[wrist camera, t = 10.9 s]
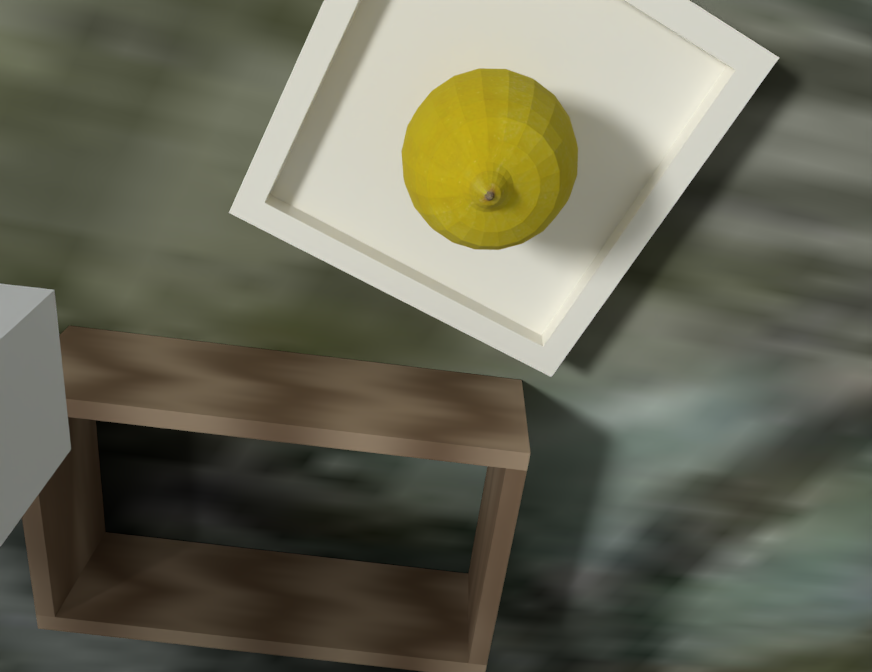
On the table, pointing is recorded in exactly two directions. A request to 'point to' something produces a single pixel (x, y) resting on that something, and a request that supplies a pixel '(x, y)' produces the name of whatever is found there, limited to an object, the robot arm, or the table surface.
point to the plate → (579, 96)
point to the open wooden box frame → (259, 569)
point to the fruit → (489, 159)
